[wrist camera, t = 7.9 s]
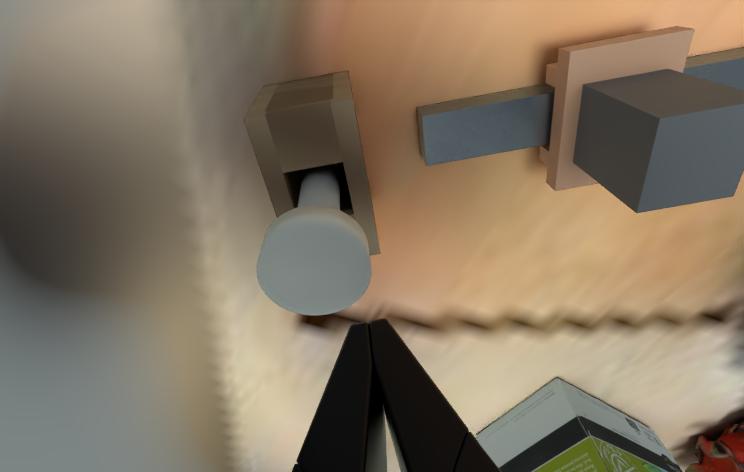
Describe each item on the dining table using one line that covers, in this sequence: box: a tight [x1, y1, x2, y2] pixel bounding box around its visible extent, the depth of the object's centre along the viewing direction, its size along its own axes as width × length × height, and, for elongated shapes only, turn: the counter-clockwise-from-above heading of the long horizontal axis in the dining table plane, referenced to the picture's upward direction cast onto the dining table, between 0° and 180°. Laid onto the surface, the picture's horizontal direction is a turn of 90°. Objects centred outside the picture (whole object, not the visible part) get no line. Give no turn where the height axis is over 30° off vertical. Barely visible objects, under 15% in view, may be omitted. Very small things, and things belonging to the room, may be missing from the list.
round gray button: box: [257, 164, 371, 315], centre depth 15 cm, size 3×3×7 cm
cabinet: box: [243, 71, 380, 256], centre depth 18 cm, size 7×4×5 cm, turn 9°
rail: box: [417, 47, 744, 166], centre depth 20 cm, size 2×18×2 cm, turn 99°
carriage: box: [539, 26, 744, 213], centre depth 17 cm, size 6×5×7 cm
